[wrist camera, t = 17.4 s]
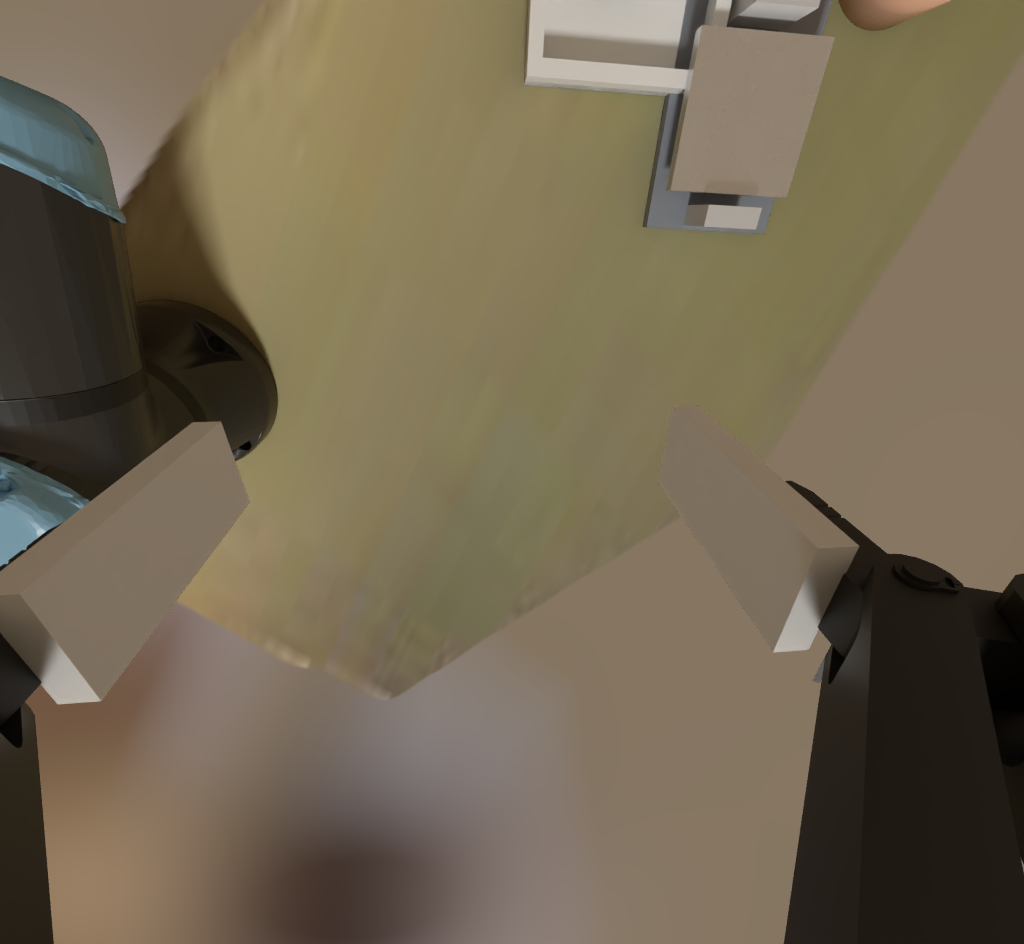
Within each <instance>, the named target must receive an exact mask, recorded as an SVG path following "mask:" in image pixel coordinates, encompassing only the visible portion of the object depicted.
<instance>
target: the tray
mask: <svg viewBox="0 0 1024 944" xmlns="http://www.w3.org/2000/svg"><path fill="white" fill-rule="evenodd" d="M691 1H692V0H691ZM691 1H690V2H689V3H691ZM694 1H695V0H694ZM696 1H697V0H696ZM698 1H699V0H698ZM700 1H701V0H700ZM705 1H706V0H705ZM686 2H688V0H528V13H527V33H526V53H525V73H524V85H533V86H546V87H558V88H571V89H583V90H596V91H608V92H621V93H633V94H646V95H658V96H666V95H668V94H669V93H676V94H684V91H685V86H686V80H687V75H688V70H687V69H688V68H689V66H688V68H687V69H686V70H685V69H684V68H682V69H681V68H680V67H678V68H680V69H678V68H677V65H678V64H680V63H677V62H676V60H679V58H678V59H676V57H677V52H678V50H679V49H678V46H679V44H681V41H684V40H683V39H682V40H681V41H680V43H679V40H680V39H681V38H682V37H680V34H681V29H682V25H683V24H685V23H683V17H684V12H685V9H686V8H685V7H687V6H686V4H688V3H686ZM692 2H693V1H692ZM702 2H703V1H702ZM702 2H701V3H702ZM696 3H698V2H696ZM701 3H699V4H701ZM731 3H732V0H708V5H707V7H706V6H705V5H704V6H705V7H706V9H705V11H706V10H707V11H706V13H705V15H704V14H703V13H701V14H703V15H704V16H705V18H704V17H703V16H702V18H701V19H704V20H705V21H704V22H703V21H702V23H704V25H710V26H721V27H727V22H728V17H729V12H730V8H731ZM693 4H695V3H693ZM705 4H706V2H705ZM688 5H689V4H688ZM695 5H696V4H695ZM697 5H698V4H697ZM689 6H690V5H689ZM691 6H692V5H691ZM691 6H690V7H691ZM698 6H699V5H698ZM695 7H696V6H695ZM695 7H694V8H695ZM701 7H703V5H702V6H701ZM687 8H688V7H687ZM692 8H693V7H692ZM698 8H699V7H698ZM698 8H695V9H698ZM688 9H689V8H688ZM700 9H702V8H699V10H700ZM689 10H691V11H692V9H689ZM694 11H696V10H694ZM694 11H692V12H694ZM701 11H703V12H705V11H704V10H701ZM686 12H687V11H686ZM692 12H691V13H692ZM697 13H699V12H697ZM686 14H688V12H687V13H686ZM692 14H693V13H692ZM695 14H696V13H695ZM685 16H686V15H685ZM689 16H690V15H689ZM689 16H687V17H689ZM694 16H695V15H693V17H694ZM695 17H696V16H695ZM685 18H686V17H685ZM698 18H699V17H698ZM698 18H697V19H698ZM686 19H687V18H686ZM689 19H690V20H691V18H689ZM695 19H696V18H695ZM695 19H694V20H695ZM697 19H696V20H697ZM684 21H685V20H684ZM691 21H693V20H691ZM697 21H698V20H697ZM686 22H688V23H689V22H690V21H689V20H686ZM693 22H694V21H693ZM699 22H700V20H699ZM682 23H683V24H682ZM690 24H691V23H690ZM692 24H693V23H692ZM694 24H695V25H696V24H697V23H696V21H695V23H694ZM697 25H698V24H697ZM700 25H701V24H700ZM683 26H684V25H683ZM685 26H687V24H686V25H685ZM685 26H684V27H685ZM698 26H699V25H698ZM694 27H695V26H694ZM694 27H691V28H694ZM696 27H697V26H696ZM696 27H695V28H696ZM685 28H686V27H685ZM687 29H689V30H690V27H688V28H687ZM696 29H697V28H696ZM684 30H685V29H684ZM689 30H687V32H688V31H689ZM690 32H691V33H692V32H693V34H694V33H695V31H690ZM684 34H685V33H684ZM684 34H683V35H682V36H684ZM686 34H688V33H686ZM686 34H685V35H686ZM693 34H692V35H693ZM688 35H689V34H688ZM692 35H690V37H691V38H692ZM694 35H695V34H694ZM685 38H687V37H686V36H685ZM687 39H689V38H687ZM692 40H694V38H693V39H692ZM687 41H688V40H687ZM685 42H686V41H684V43H685ZM691 42H692V41H691ZM688 43H689V42H688ZM686 44H687V43H686ZM692 44H693V43H692ZM682 45H684V44H682ZM684 46H685V45H684ZM689 46H690V45H689ZM679 47H680V48H681V46H679ZM686 47H687V46H686ZM689 48H690V47H689ZM691 48H692V47H691ZM684 50H686V49H684ZM684 50H683V51H684ZM683 51H682V53H684V52H683ZM688 51H689V50H688ZM680 52H681V51H680ZM686 52H687V50H686ZM689 52H690V51H689ZM691 53H692V51H691ZM680 54H681V53H679V54H678V55H680ZM685 54H686V53H684V55H685ZM688 54H690V53H688ZM684 55H683V56H684ZM687 56H688V55H687ZM687 56H686V57H685V56H684V57H685V58H687ZM689 56H690V55H689ZM679 57H680V56H679ZM681 57H682V55H681ZM689 58H690V57H688V59H689ZM682 59H683V61H684V58H682ZM690 59H691V58H690ZM690 59H689V60H690ZM683 61H682V60H681V62H682V63H681V64H684V63H683ZM685 61H686V59H685ZM676 63H677V65H676V69H674V68H675V64H676ZM686 63H687V61H686ZM688 63H689V61H688ZM689 64H690V63H689ZM685 65H686V64H685ZM685 65H683V66H685ZM678 66H679V65H678ZM685 68H686V66H685Z"/></svg>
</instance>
